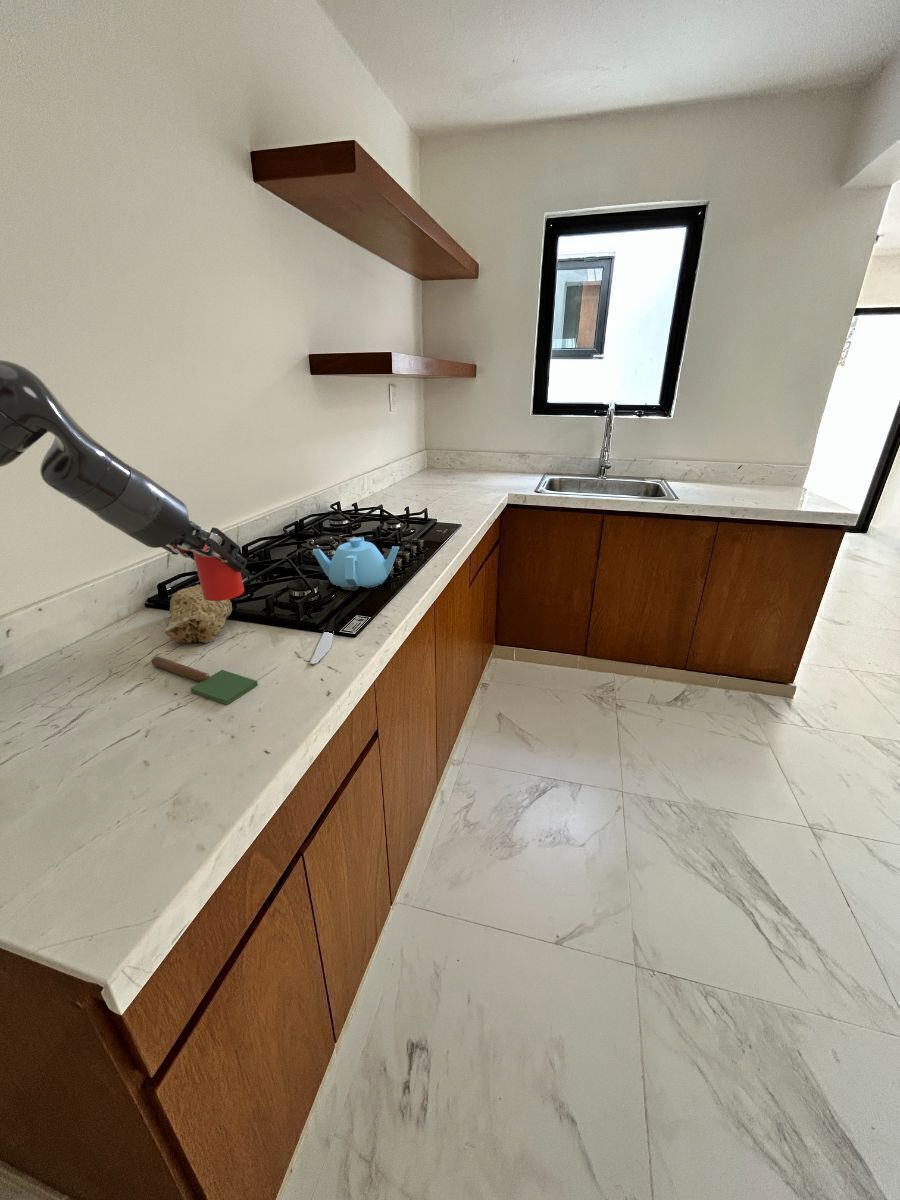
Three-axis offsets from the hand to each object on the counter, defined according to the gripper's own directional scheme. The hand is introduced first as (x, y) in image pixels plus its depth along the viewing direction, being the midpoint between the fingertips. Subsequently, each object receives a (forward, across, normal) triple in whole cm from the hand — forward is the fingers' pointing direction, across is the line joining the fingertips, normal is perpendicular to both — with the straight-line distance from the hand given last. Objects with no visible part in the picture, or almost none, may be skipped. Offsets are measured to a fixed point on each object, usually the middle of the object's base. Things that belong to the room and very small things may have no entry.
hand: (226, 564), depth 78 cm
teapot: (+40, +2, -15) cm, 43 cm away
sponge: (+18, +20, +7) cm, 28 cm away
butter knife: (+23, -6, +2) cm, 24 cm away
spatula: (+7, +4, +18) cm, 19 cm away
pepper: (+2, 0, +4) cm, 5 cm away
